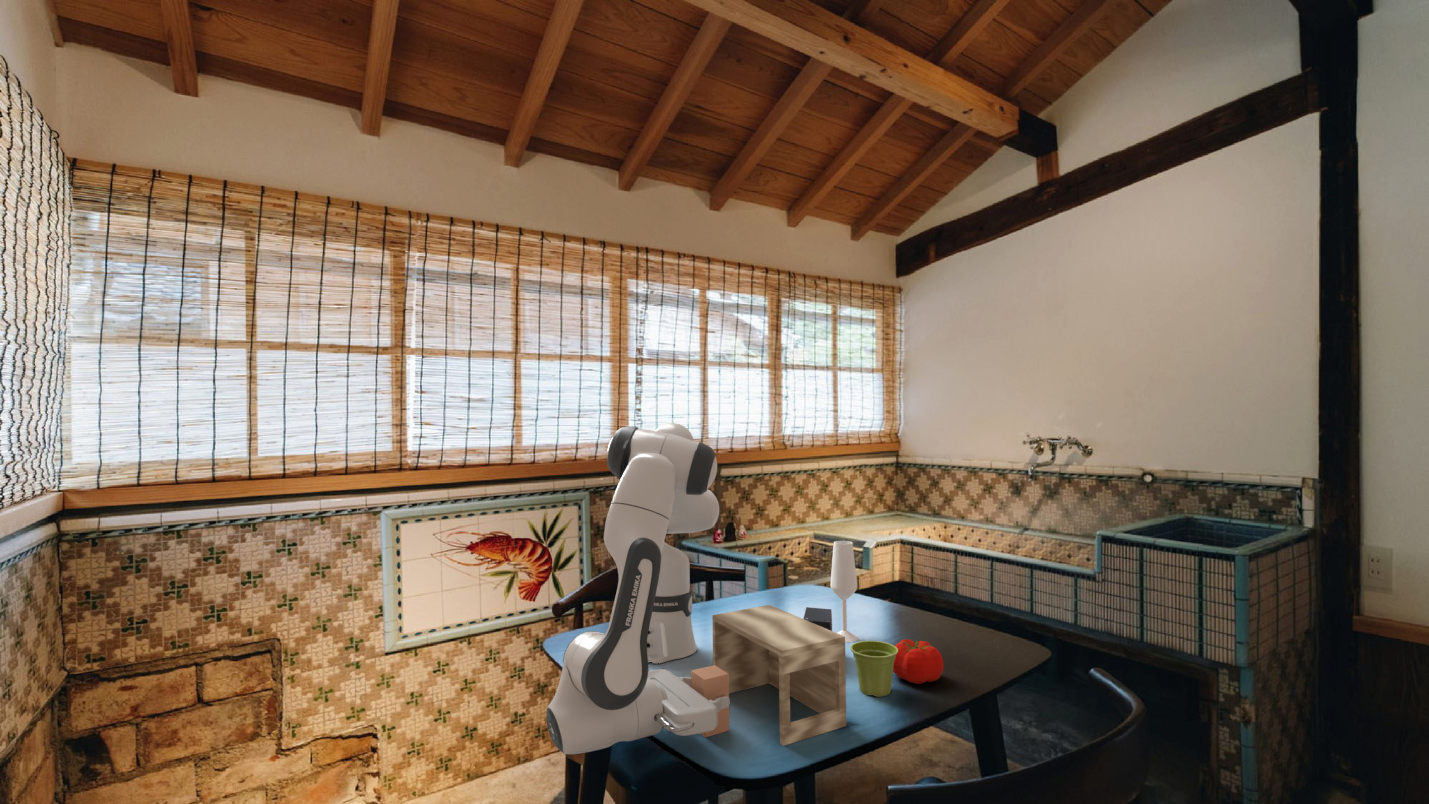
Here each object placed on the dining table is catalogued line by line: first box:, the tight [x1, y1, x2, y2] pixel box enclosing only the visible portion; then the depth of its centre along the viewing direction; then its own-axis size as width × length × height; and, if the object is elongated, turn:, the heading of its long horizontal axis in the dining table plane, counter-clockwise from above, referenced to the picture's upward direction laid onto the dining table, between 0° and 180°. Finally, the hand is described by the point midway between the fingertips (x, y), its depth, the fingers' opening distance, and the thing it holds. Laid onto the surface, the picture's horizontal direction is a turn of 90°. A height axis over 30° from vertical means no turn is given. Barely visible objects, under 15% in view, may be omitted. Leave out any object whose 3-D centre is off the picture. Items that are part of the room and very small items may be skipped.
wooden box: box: [711, 604, 847, 746], centre depth 126 cm, size 14×24×16 cm, turn 30°
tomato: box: [893, 638, 945, 685], centre depth 140 cm, size 11×11×8 cm
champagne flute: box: [830, 540, 859, 643], centre depth 167 cm, size 7×7×24 cm
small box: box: [802, 606, 833, 631], centre depth 152 cm, size 11×6×10 cm, turn 168°
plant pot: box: [849, 640, 898, 698], centre depth 134 cm, size 9×9×9 cm
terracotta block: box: [690, 664, 730, 738], centre depth 119 cm, size 5×5×10 cm
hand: (714, 690), depth 119 cm, fingers open, 8 cm apart
